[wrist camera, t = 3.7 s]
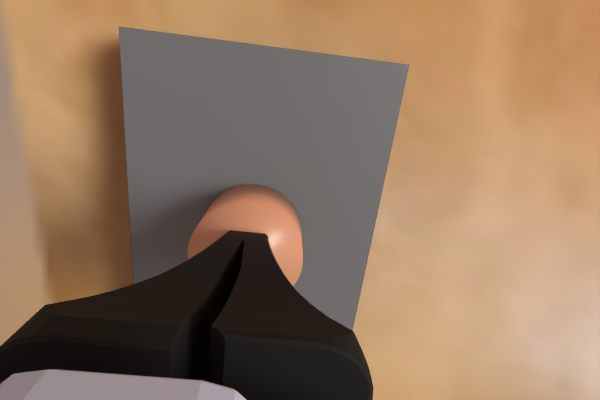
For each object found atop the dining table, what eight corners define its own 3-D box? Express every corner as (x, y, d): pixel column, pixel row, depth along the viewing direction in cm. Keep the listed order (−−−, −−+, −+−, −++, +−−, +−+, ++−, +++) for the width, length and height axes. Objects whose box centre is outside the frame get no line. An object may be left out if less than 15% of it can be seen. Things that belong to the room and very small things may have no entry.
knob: (295, 249, 17) (295, 311, 13) (215, 241, 17) (187, 301, 12) (305, 173, 16) (309, 212, 11) (218, 163, 16) (187, 199, 11)
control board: (314, 452, 22) (316, 496, 20) (160, 443, 22) (145, 487, 20) (390, 66, 14) (409, 64, 12) (148, 34, 14) (118, 26, 11)
